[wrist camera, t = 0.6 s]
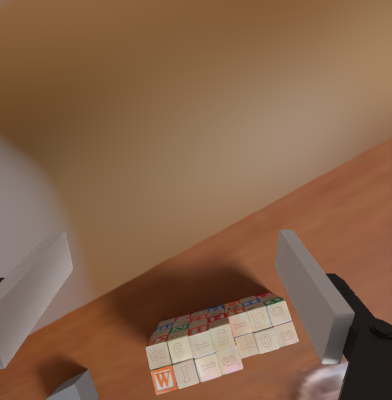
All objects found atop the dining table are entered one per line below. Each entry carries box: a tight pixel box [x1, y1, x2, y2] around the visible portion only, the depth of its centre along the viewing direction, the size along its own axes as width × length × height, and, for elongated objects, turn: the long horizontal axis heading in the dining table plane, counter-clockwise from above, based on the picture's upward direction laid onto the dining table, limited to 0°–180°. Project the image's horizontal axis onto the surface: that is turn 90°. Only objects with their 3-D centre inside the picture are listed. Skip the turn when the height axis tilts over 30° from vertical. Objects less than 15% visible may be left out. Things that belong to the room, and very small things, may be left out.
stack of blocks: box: [146, 292, 299, 395], centre depth 41 cm, size 21×6×12 cm, turn 106°
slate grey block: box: [46, 370, 99, 400], centre depth 43 cm, size 5×5×5 cm
